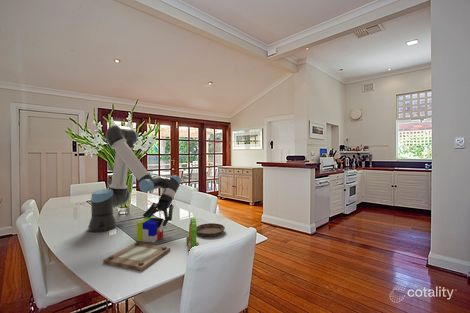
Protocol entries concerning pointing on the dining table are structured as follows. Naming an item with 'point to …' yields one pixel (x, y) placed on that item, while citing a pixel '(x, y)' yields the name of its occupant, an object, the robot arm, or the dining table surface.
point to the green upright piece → (192, 234)
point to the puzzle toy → (149, 229)
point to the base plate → (137, 256)
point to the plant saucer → (210, 229)
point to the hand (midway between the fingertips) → (150, 229)
